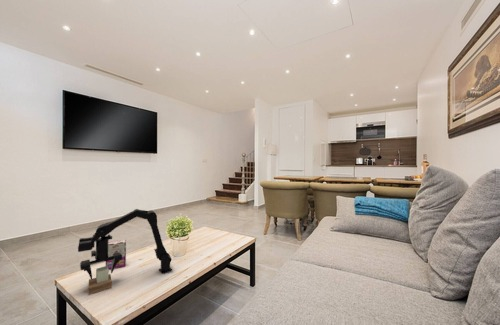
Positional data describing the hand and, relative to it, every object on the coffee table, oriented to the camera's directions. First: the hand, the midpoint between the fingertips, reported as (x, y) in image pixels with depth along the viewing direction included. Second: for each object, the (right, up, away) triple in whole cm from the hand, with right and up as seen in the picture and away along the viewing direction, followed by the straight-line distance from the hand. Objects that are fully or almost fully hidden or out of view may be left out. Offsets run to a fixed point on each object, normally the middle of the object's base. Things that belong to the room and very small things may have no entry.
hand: (101, 275), depth 115 cm
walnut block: (0, -6, -1) cm, 6 cm away
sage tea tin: (0, -2, 0) cm, 2 cm away
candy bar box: (-6, -6, +21) cm, 23 cm away
